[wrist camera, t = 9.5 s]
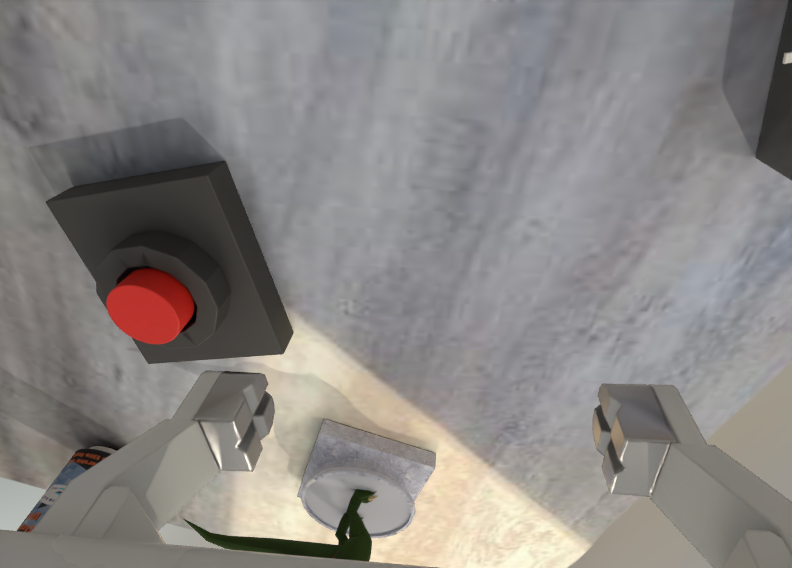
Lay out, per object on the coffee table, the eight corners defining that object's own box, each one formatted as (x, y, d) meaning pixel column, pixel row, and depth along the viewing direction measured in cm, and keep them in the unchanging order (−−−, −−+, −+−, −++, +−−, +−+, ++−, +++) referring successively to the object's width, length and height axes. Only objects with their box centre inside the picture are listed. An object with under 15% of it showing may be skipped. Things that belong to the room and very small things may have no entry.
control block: (72, 186, 27) (18, 215, 24) (225, 160, 25) (189, 188, 22) (165, 343, 34) (132, 383, 30) (294, 332, 31) (274, 374, 28)
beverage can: (147, 446, 41) (46, 597, 31) (150, 491, 45) (61, 637, 35) (76, 427, 41) (-49, 573, 31) (86, 473, 45) (-22, 616, 35)
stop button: (112, 271, 26) (91, 288, 24) (175, 263, 25) (158, 281, 23) (146, 327, 28) (129, 347, 26) (206, 322, 27) (191, 342, 26)
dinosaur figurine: (439, 523, 42) (431, 687, 32) (223, 459, 41) (148, 611, 31) (480, 467, 37) (486, 641, 27) (235, 391, 35) (150, 547, 26)
